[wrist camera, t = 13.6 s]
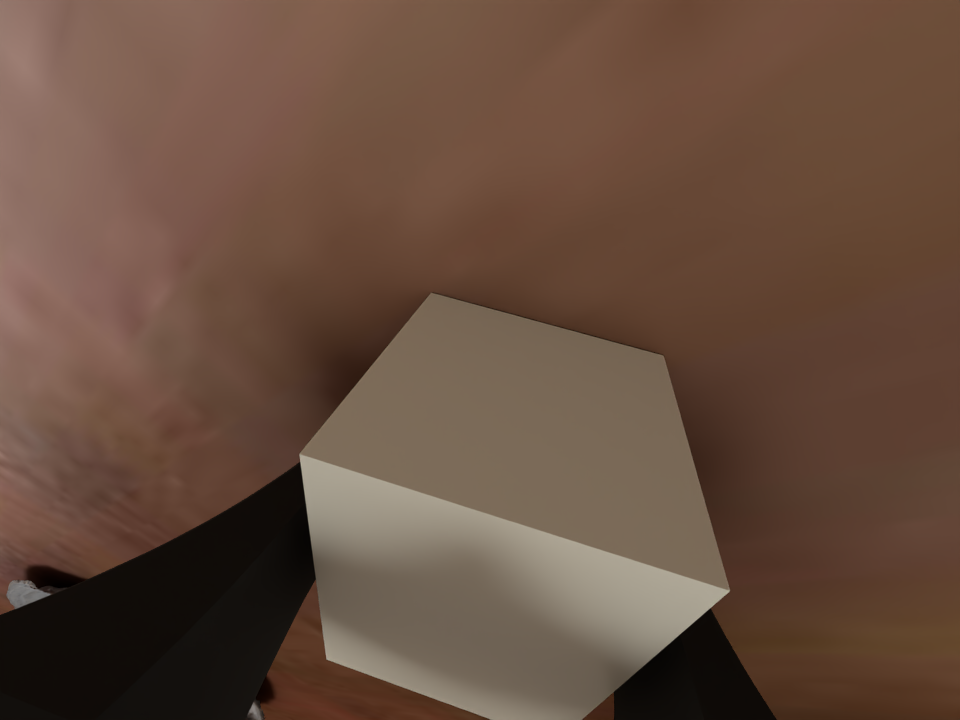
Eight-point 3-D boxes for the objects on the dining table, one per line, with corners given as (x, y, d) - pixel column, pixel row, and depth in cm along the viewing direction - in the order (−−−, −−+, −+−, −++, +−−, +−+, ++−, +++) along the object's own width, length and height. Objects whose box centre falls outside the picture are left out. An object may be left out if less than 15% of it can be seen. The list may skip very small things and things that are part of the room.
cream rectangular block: (566, 533, 15) (555, 742, 10) (409, 483, 15) (326, 659, 11) (663, 355, 10) (730, 591, 5) (431, 292, 11) (299, 453, 6)
